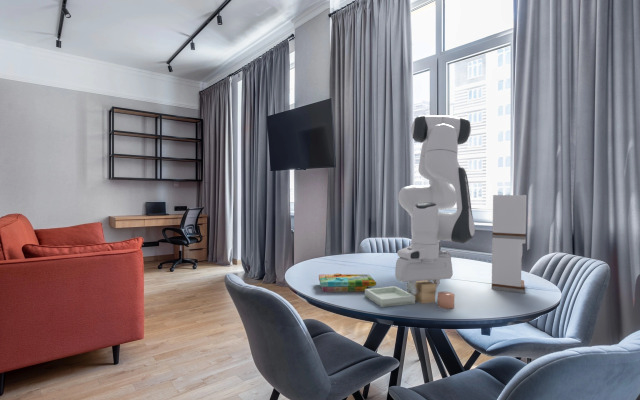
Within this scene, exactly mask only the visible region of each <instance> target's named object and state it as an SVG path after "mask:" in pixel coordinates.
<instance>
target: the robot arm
mask: <svg viewBox="0 0 640 400" xmlns="http://www.w3.org/2000/svg"><path fill="white" fill-rule="evenodd" d="M410 133H411V136H412V139H413V141H415V142H417V143H422V145H421V149H420V157H419V161H418V162H419V163H418V173H419V174H420V176H422V178H425V179H426V180H428V182H429V183H428V184H427V185H419V184H418V185H415V184H414V185H408V186H404V187H402V188H401V189H400V191H399V192H398V196H397V198H398V200H397V201H398V203H399V205H400V206H401V208H403V210H405V211H406V212H407V214H408V215H409V216H410V218H411V226H410V229H411V234H412V237H411V241H410V245H407V246H405V247H403V248H401V249H399V250H398V251H397V252H396V253H397V257H398V258H397V260H396V262H395V268H394V270H395V271H394V275H395V276H394V277H395V279H396V280H397V281H398V282H401V283H408V282H409V284H410V286H411V288H412V294H414V295H416V294H419V289H417V288H416V287H415V285H414V284H416V281H425V280H427V281H431V282H432V283H434V284H435V294H436V293H438V291H437V289H438V287H439V284H440V282H441V281H440V280H449V279H450V280H451V279H452V277H453V274H454V272H453V264H452V254H451V253H450V252H448V250H441V249H442V242H441V241H446V242H453V243H459V244H466V243H467V242H469V241H471V239H473V238H474V236H475V230H476V227H475V223H474V217H473V212H472V211H473V210H472V203H471V194H470V187H469V181H468V176H467V171H466V170H465V168H464V167H462V166H461V165H460V164H459V160H458V154H459V153H458V149H459V148H458V146H459V145H463V144H465V143H467V142H468V140H469V138H470V136H471V133H472V127H471V121H470V120H469V119H468V118H466V117H463V116H459V117H457V116H452V115H443V114H442V115H425V114H424V115H419V116H418V115H417V116H416V117H415V118H414V119H413V122H412V124H411V127H410ZM455 205H456V212H440V211H442V210H448V209H452V208H453V207H455Z"/></svg>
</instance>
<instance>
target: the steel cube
mask: <svg viewBox="0 0 640 400" xmlns="http://www.w3.org/2000/svg"><path fill="white" fill-rule="evenodd" d="M406 292H408V293H410V294H412V288H411V286H410V284H409V282H406ZM412 295H413V294H412Z"/></svg>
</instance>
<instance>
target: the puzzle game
mask: <svg viewBox="0 0 640 400" xmlns="http://www.w3.org/2000/svg"><path fill="white" fill-rule="evenodd" d="M318 280H319V285H320V288H321V289H322V291H323V292H325V293H327V292H330V293H332V292H335V293H336V292H365V289H368V288H370V287H371V288H373V287H376V286H377V282H376V280H375V279H374V278H373V277H372V275H370V274H369V273H367V274H365V273H364V274H362V273H361V274H359V273H358V274H357V273H356V274H352V273H351V274H349V273H348V274H346V273H345V274H342V273H332V274H330V273H329V274H324V273H323V274H322V273H321V274H318Z"/></svg>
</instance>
